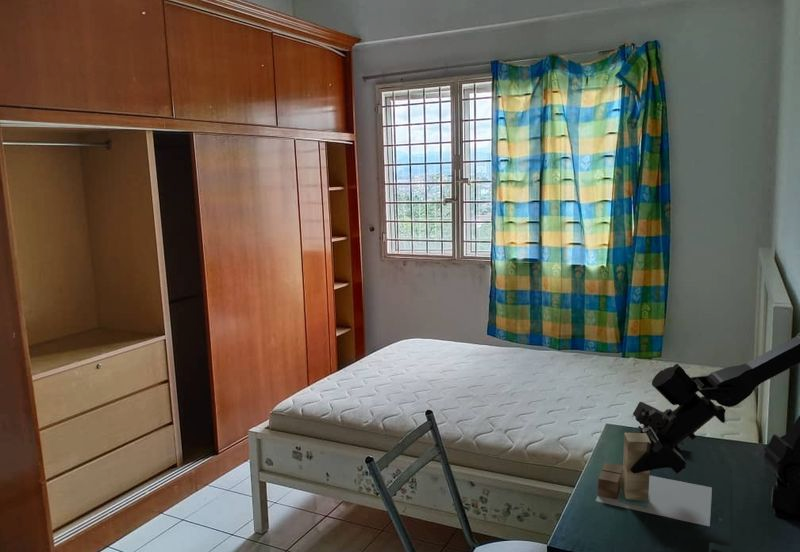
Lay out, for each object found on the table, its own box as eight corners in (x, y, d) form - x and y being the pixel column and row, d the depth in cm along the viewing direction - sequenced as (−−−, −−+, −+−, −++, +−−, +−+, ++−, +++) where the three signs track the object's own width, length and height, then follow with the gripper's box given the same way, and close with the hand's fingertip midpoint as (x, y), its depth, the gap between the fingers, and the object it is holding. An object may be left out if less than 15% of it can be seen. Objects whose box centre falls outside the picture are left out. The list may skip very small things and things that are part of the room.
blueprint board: (711, 491, 138) (712, 487, 138) (709, 530, 123) (709, 525, 123) (608, 471, 148) (609, 466, 148) (595, 505, 133) (595, 500, 133)
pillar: (643, 489, 135) (646, 433, 133) (648, 500, 131) (650, 442, 129) (622, 488, 136) (624, 432, 134) (625, 499, 132) (628, 441, 130)
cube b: (622, 482, 141) (623, 465, 140) (620, 490, 137) (620, 473, 137) (604, 478, 143) (605, 462, 142) (601, 486, 139) (602, 469, 139)
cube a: (619, 491, 137) (620, 474, 136) (616, 499, 134) (617, 482, 133) (601, 487, 139) (601, 470, 138) (597, 495, 135) (598, 478, 135)
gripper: (648, 377, 138) (595, 422, 142) (671, 409, 120) (610, 459, 124) (684, 412, 138) (630, 456, 142) (712, 449, 120) (650, 498, 124)
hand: (629, 466), depth 133 cm, fingers closed on pillar, 4 cm apart
